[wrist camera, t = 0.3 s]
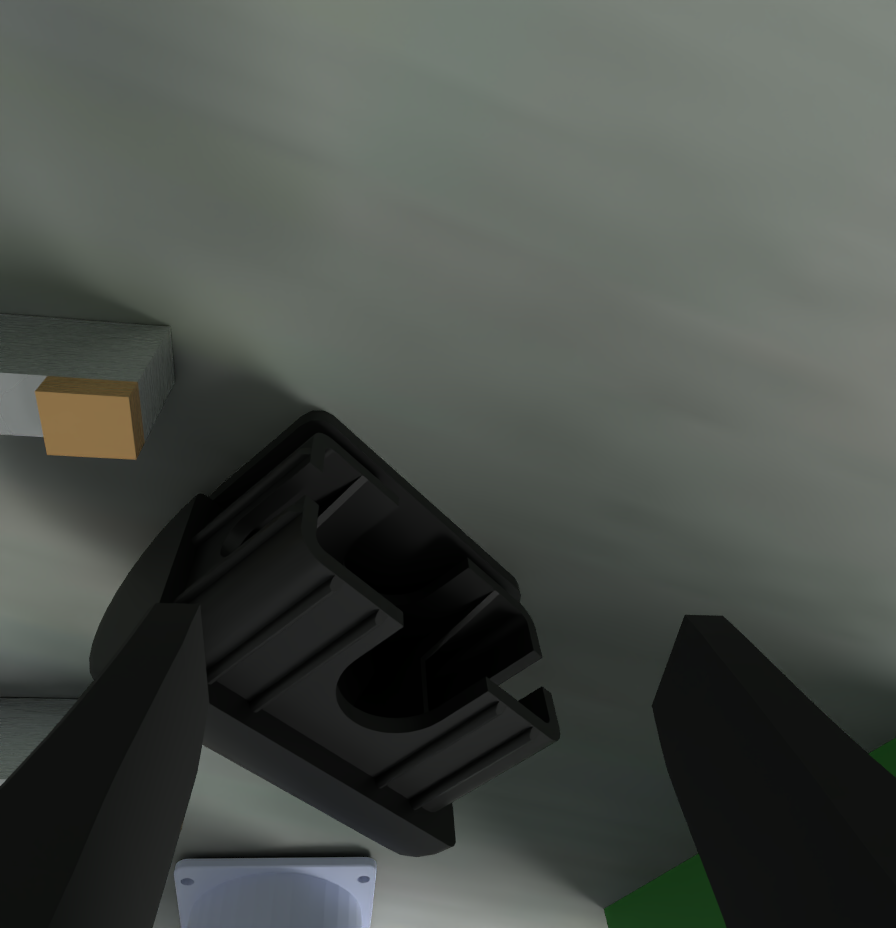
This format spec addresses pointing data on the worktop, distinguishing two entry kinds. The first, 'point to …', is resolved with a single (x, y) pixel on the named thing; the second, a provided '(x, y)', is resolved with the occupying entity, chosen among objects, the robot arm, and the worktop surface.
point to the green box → (690, 888)
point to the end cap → (346, 637)
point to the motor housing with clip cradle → (75, 432)
